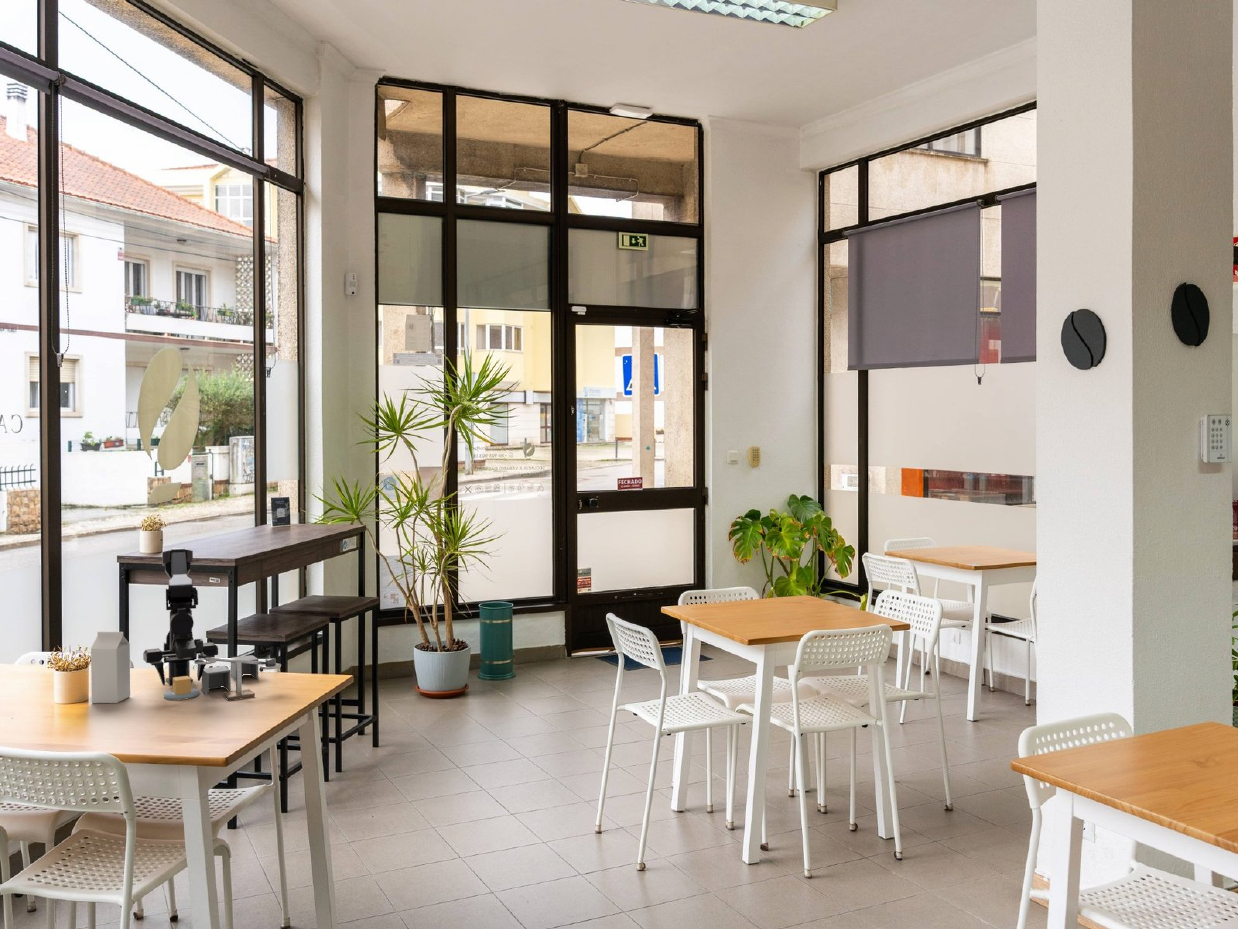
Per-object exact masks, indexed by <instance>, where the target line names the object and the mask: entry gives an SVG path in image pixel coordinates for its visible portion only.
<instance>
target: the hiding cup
mask: <svg viewBox="0 0 1238 929" xmlns="http://www.w3.org/2000/svg"><path fill="white" fill-rule="evenodd" d="M230 659H238V660H251V661H259V659H258V658H257V657H256V656H254V655H253V654H251V655H241V656H233V657H230ZM230 671H231V677H232V678H233V679H234V680H233V679H232V678H231V679H232V680H233V681H235V680H236V663H234V662H230ZM241 672H242V675H243V674H252V675H253V676H254V677H253V676H252V675H251V676H252V677H253V678H254V679H256V678H258V679H259V664H247V663H241Z"/></svg>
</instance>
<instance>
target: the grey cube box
mask: <svg viewBox="0 0 1238 929" xmlns="http://www.w3.org/2000/svg"><path fill="white" fill-rule="evenodd" d="M231 679H232V678H231V668H228V667H227V666H225V665H221V666H212V667H205V668H204V671H203V673H202V676H201V690H202V691H203V692H204V691H205V692H206V693H207V694H206V695H210V689H209V688H211V689H216V687H219V688H222V687H221V686H224V687H225V688H224V687H223V688H224V689H226V688H227V689H228V690H229V691H228V690H227V689H226V690H227V691H228V692H231V691H232V690H231V686H232V685H231V684H232V683H231ZM230 690H231V691H230ZM205 692H204V693H205Z"/></svg>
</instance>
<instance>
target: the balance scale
mask: <svg viewBox="0 0 1238 929" xmlns="http://www.w3.org/2000/svg"><path fill="white" fill-rule="evenodd" d="M276 661H277V659H276V658H275V657H270V658H266V659H265V661H259V660H258V661H251V660H238V659H231V658H223V657H214V656H213V657H205V658H203V659H198V658H197V659H195V661H193V662H194V665H198V664H200V665H203V664H206V665H210V664H215V663H217V662H225V663H231V662H234V663H236V681H235V690H233V691H232V690H231V691H224V692H222V695H223V696H222V697H223V698H224V699H226V698H227V699H228V700H227V699H226V700H227V701H228V702H229V701H230V700H231V701H236V700H235V699H238V700H241V699H240V698H245V699H250V698H256V697H255V696H256V695H255V692H253V691H252V690H251V689H250V688H245V689H242V682H243V680H242V678H243V676H242V672H241V663H247V664H258V665H260V666H259V667H260V669H261V670H277V669H280V668H281V666H282V664H281V663H277V662H276ZM231 701H230V702H231Z"/></svg>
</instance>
